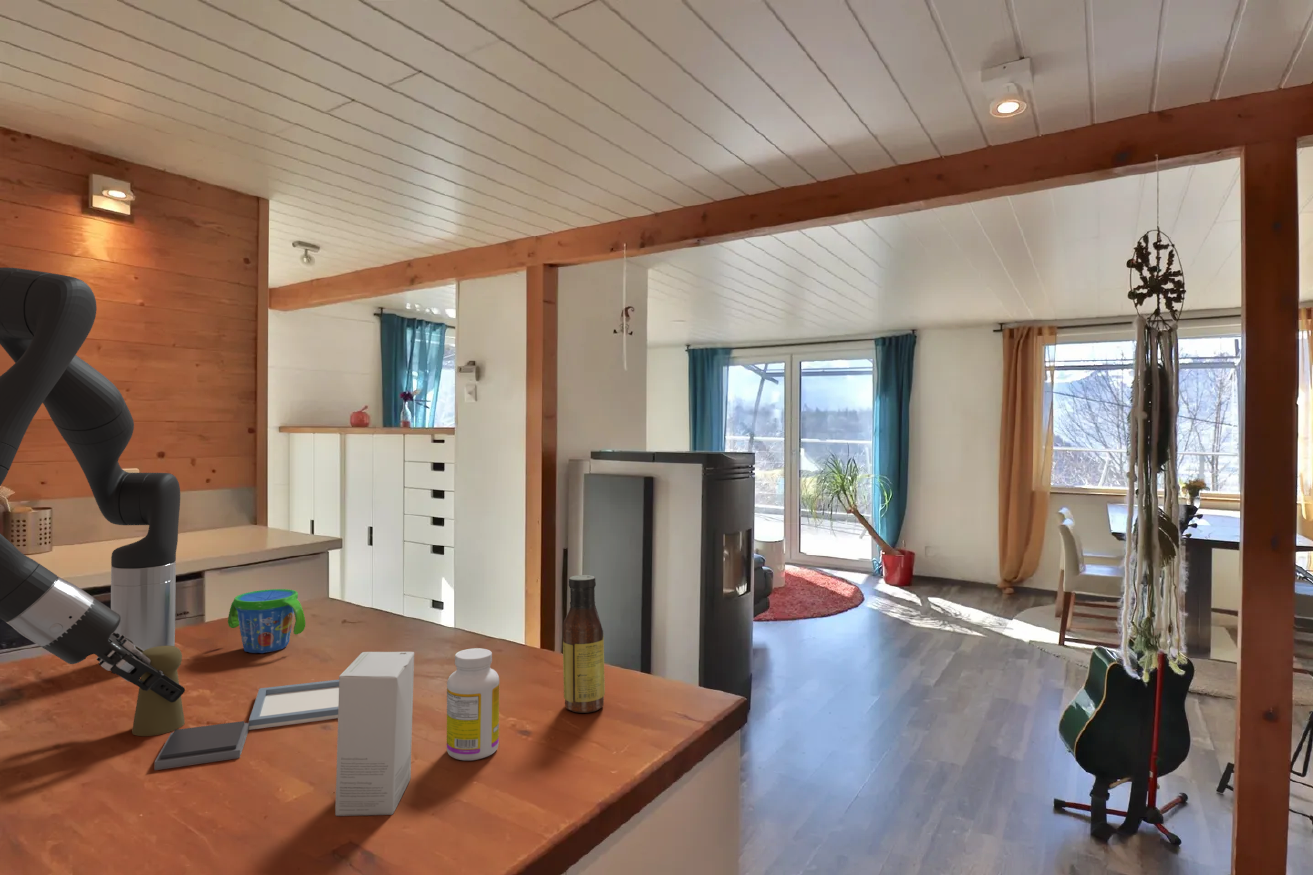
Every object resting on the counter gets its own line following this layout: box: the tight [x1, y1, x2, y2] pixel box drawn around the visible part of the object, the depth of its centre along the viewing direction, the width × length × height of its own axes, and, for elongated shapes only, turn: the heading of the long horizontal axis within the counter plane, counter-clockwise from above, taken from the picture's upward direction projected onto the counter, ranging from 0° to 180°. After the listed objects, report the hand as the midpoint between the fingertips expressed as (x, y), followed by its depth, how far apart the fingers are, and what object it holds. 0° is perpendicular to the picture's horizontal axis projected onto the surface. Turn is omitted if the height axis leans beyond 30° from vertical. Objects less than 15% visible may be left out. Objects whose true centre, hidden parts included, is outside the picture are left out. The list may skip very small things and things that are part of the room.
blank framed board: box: [248, 679, 339, 731], centre depth 107 cm, size 13×13×1 cm
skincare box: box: [334, 651, 415, 817], centre depth 81 cm, size 8×7×16 cm
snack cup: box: [227, 588, 306, 654], centre depth 134 cm, size 16×10×10 cm
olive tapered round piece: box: [131, 645, 186, 737], centre depth 98 cm, size 6×6×11 cm
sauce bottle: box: [562, 574, 606, 714], centre depth 108 cm, size 7×6×20 cm
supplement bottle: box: [446, 647, 500, 762], centre depth 93 cm, size 7×7×13 cm
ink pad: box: [154, 720, 250, 771], centre depth 92 cm, size 9×9×2 cm
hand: (175, 690), depth 100 cm, fingers closed on olive tapered round piece, 4 cm apart
